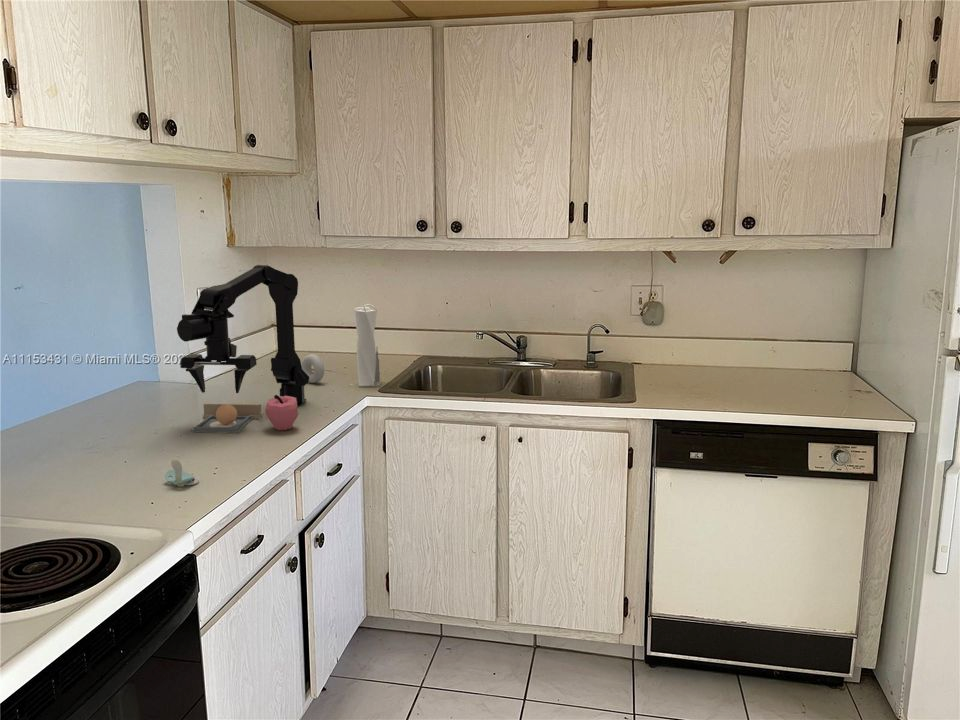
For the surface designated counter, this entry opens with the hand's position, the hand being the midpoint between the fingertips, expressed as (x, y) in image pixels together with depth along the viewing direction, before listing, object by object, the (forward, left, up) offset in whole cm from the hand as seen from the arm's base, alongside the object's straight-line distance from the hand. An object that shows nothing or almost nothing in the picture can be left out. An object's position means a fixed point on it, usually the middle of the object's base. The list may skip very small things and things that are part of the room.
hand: (220, 392), depth 196 cm
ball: (-1, 0, -6) cm, 6 cm away
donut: (-13, -50, -10) cm, 53 cm away
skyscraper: (-32, -48, -10) cm, 59 cm away
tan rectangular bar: (0, -8, -9) cm, 12 cm away
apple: (-17, +2, -10) cm, 20 cm away
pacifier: (-6, +41, -10) cm, 43 cm away
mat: (0, 0, -9) cm, 9 cm away
